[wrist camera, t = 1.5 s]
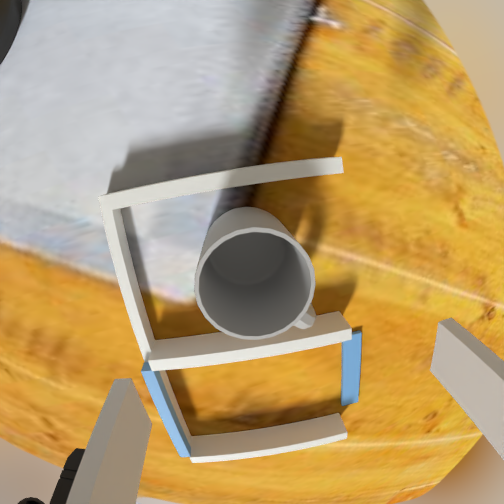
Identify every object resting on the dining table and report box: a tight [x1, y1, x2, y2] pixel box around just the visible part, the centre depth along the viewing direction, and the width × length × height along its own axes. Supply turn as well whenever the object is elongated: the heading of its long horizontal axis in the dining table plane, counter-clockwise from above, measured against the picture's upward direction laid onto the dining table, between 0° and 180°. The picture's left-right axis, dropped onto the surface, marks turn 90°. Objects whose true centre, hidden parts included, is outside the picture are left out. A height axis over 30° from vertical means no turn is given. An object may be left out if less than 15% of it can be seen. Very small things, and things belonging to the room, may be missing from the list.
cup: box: [194, 207, 316, 340], centre depth 23 cm, size 7×10×9 cm
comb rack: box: [98, 157, 362, 463], centre depth 28 cm, size 30×21×4 cm
